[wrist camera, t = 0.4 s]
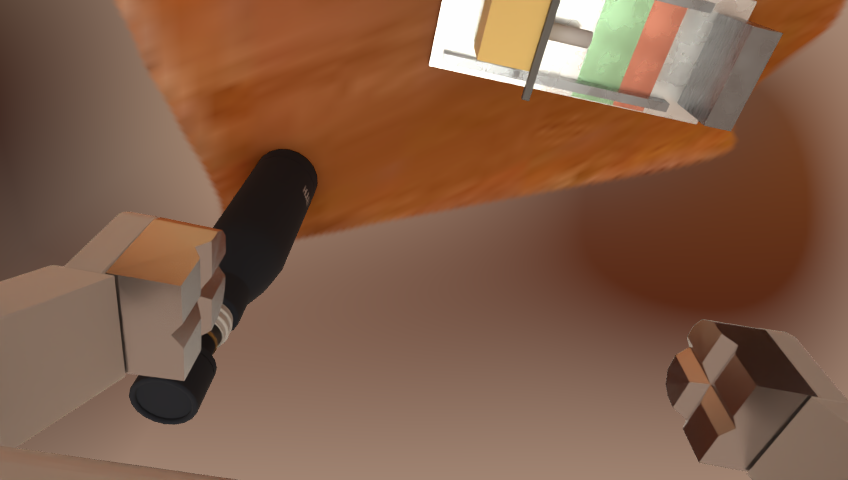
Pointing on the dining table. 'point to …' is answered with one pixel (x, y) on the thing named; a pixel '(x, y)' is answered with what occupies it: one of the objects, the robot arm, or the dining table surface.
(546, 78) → the track
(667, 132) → the dining table surface
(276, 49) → the dining table surface
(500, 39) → the block
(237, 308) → the wine bottle
